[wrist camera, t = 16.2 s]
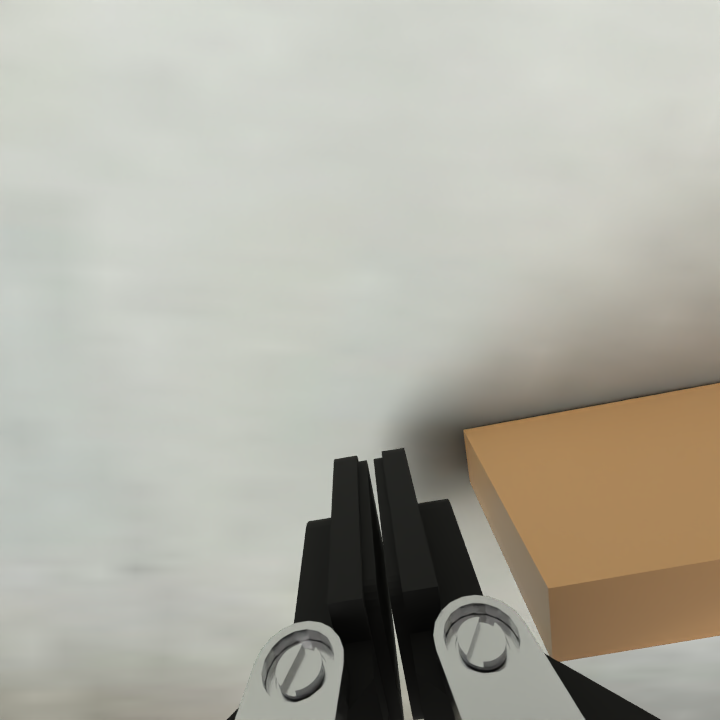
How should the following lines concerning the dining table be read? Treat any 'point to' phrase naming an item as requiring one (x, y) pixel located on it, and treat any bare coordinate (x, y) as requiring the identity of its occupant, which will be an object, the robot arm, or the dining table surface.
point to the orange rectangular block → (609, 519)
